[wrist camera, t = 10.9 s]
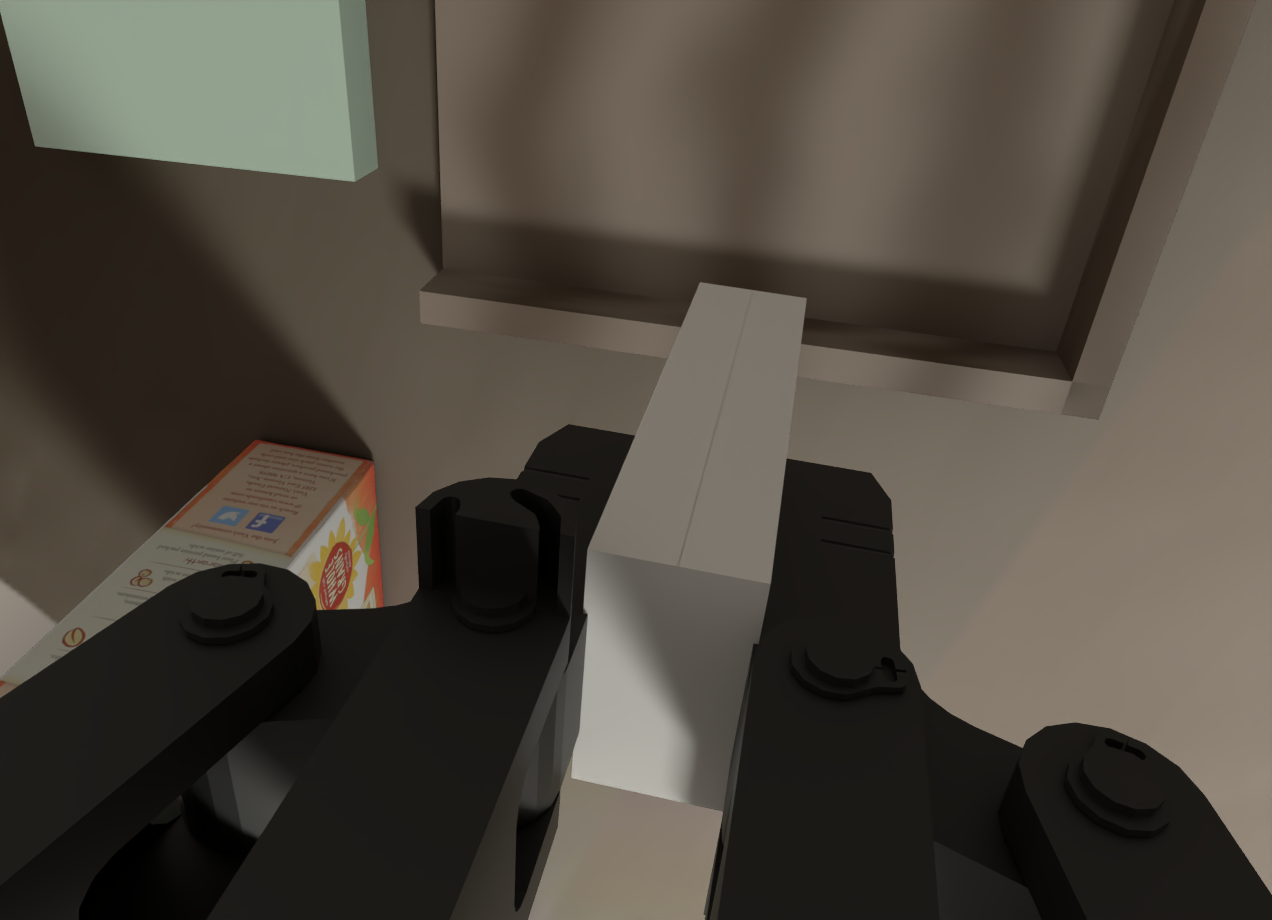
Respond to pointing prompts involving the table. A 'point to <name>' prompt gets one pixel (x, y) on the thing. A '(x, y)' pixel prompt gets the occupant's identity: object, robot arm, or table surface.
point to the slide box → (828, 176)
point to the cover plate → (200, 81)
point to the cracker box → (245, 541)
